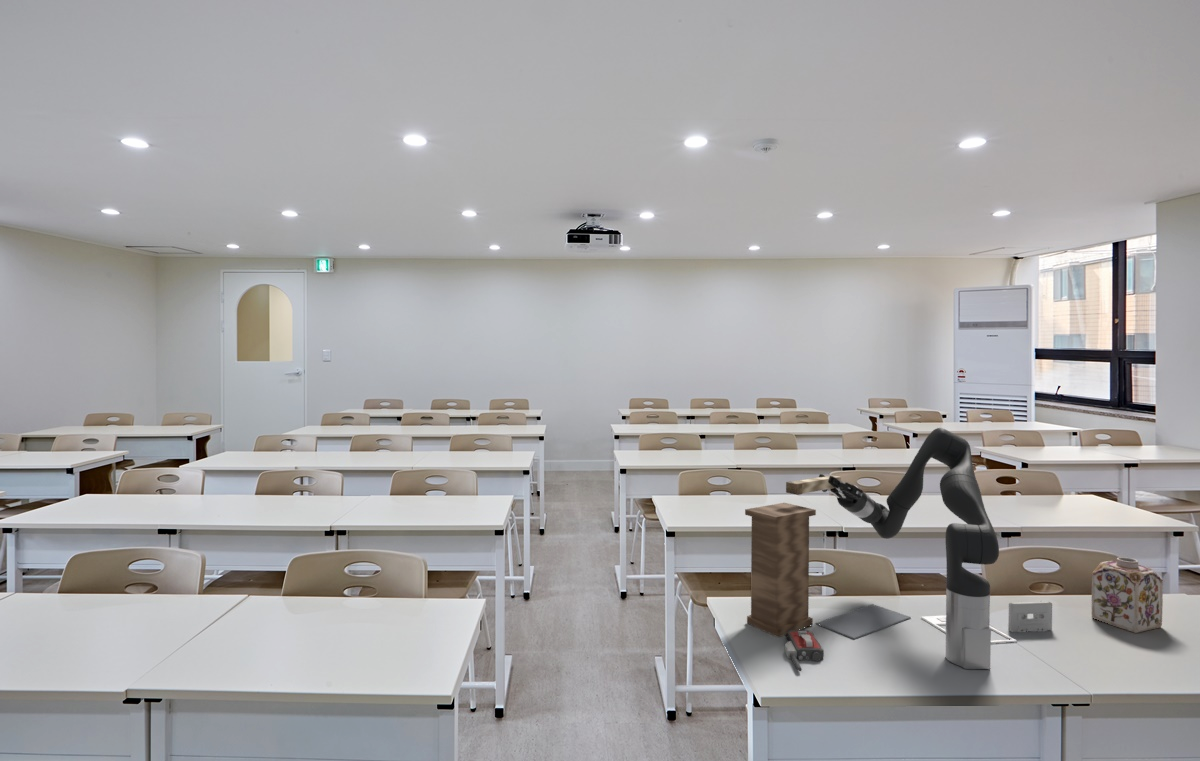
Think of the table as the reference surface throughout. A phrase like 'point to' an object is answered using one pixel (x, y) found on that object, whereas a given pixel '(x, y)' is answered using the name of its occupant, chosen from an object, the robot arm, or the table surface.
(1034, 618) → the cassette
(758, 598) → the stand
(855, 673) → the table surface
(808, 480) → the wooden bar
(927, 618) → the photo frame
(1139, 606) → the decorative jar
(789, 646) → the walkie-talkie
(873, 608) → the mat
